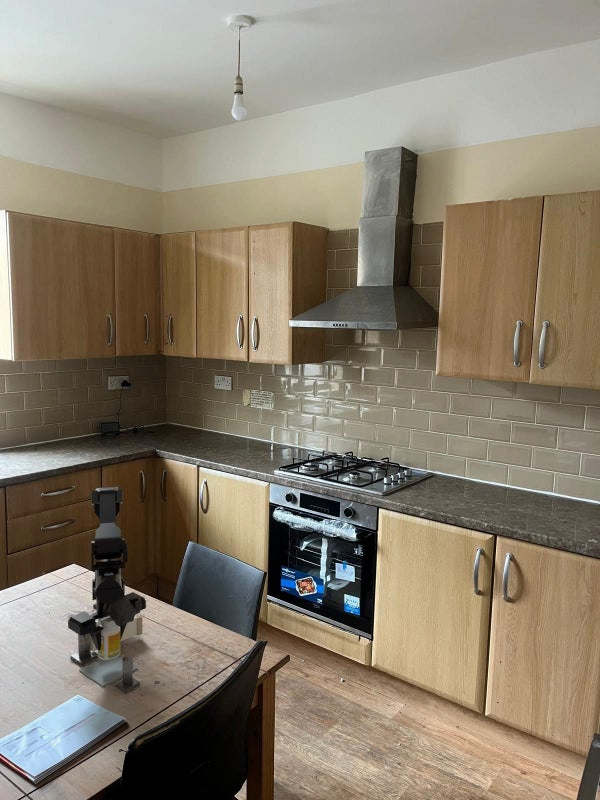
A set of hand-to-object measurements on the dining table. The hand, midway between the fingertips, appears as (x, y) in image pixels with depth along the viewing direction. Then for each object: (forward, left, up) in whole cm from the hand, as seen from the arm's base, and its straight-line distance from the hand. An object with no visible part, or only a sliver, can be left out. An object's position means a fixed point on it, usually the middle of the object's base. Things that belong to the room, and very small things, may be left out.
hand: (108, 645), depth 149 cm
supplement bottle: (0, 0, -3) cm, 3 cm away
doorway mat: (0, 0, -7) cm, 7 cm away
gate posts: (0, -1, -7) cm, 7 cm away
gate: (-8, +8, -5) cm, 12 cm away
